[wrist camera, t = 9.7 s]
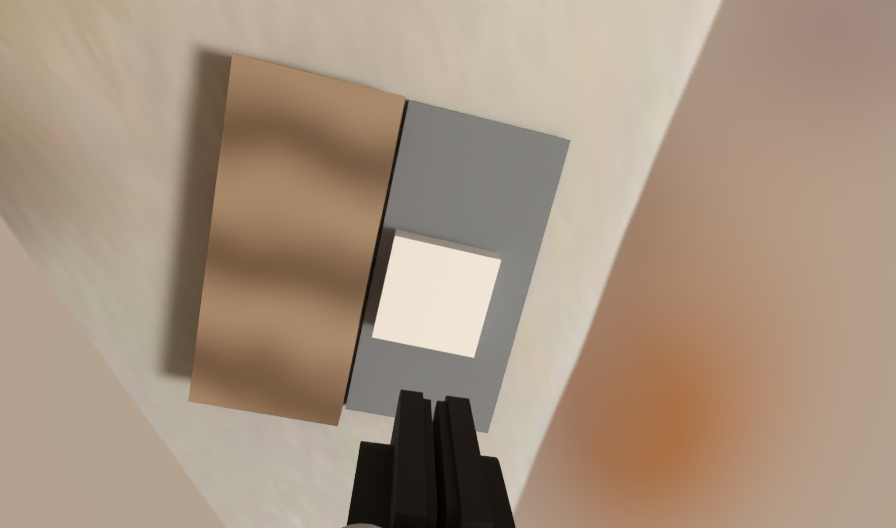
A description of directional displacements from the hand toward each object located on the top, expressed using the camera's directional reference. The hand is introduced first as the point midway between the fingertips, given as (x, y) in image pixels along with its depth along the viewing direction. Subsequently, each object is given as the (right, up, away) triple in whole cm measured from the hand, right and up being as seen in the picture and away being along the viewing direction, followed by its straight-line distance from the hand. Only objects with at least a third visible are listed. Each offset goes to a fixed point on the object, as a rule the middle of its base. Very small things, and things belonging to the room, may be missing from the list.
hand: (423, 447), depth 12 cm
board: (-8, +5, +17) cm, 20 cm away
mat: (+1, +3, +19) cm, 19 cm away
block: (0, +3, +18) cm, 18 cm away
